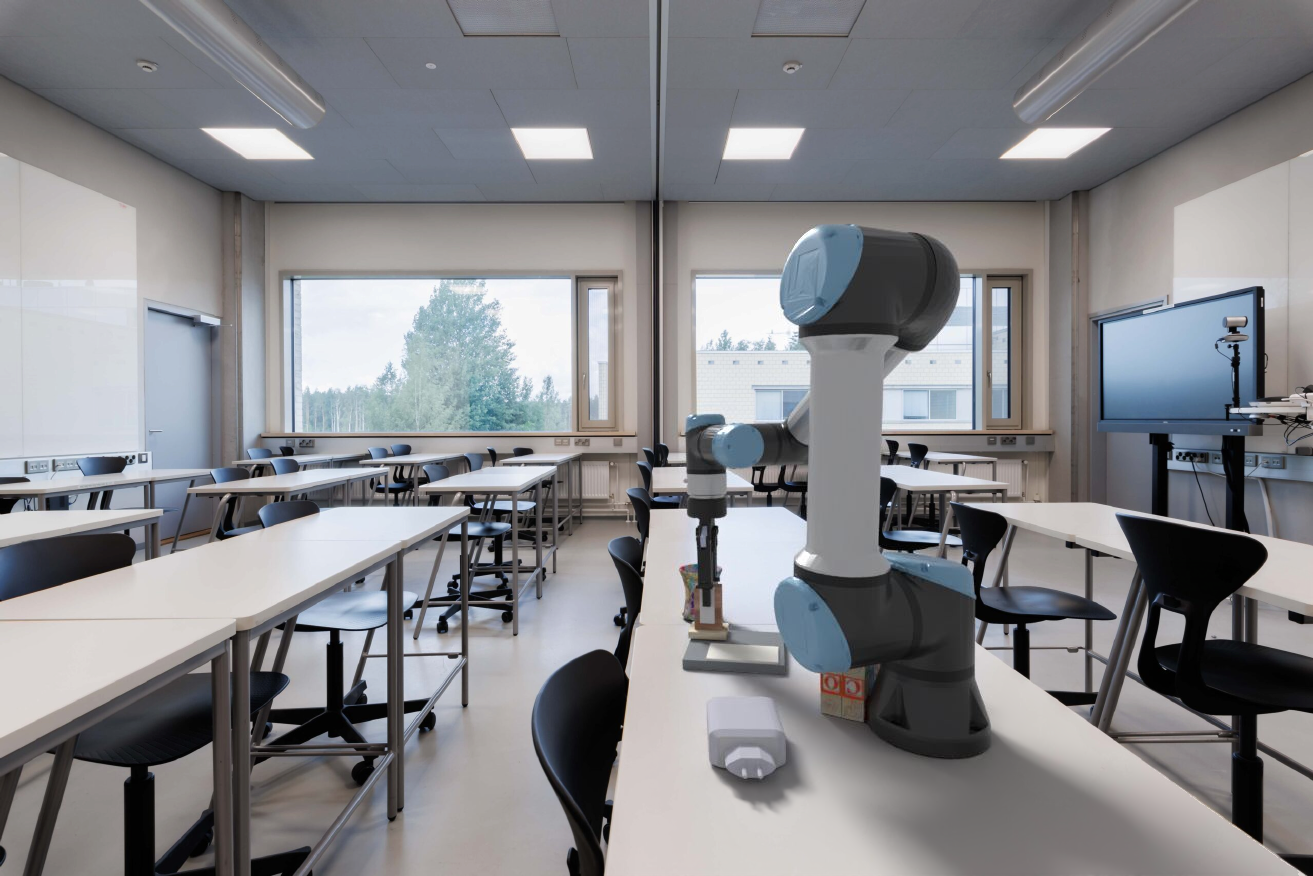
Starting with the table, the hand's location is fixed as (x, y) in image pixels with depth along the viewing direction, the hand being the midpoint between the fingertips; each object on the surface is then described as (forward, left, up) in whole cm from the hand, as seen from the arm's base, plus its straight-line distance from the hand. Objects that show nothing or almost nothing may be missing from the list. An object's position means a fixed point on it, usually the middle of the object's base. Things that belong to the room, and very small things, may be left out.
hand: (708, 619), depth 115 cm
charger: (-39, -9, -5) cm, 40 cm away
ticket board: (-4, -5, -5) cm, 8 cm away
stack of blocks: (-16, -25, -5) cm, 30 cm away
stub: (0, 0, -3) cm, 3 cm away
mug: (+17, +4, -5) cm, 18 cm away
